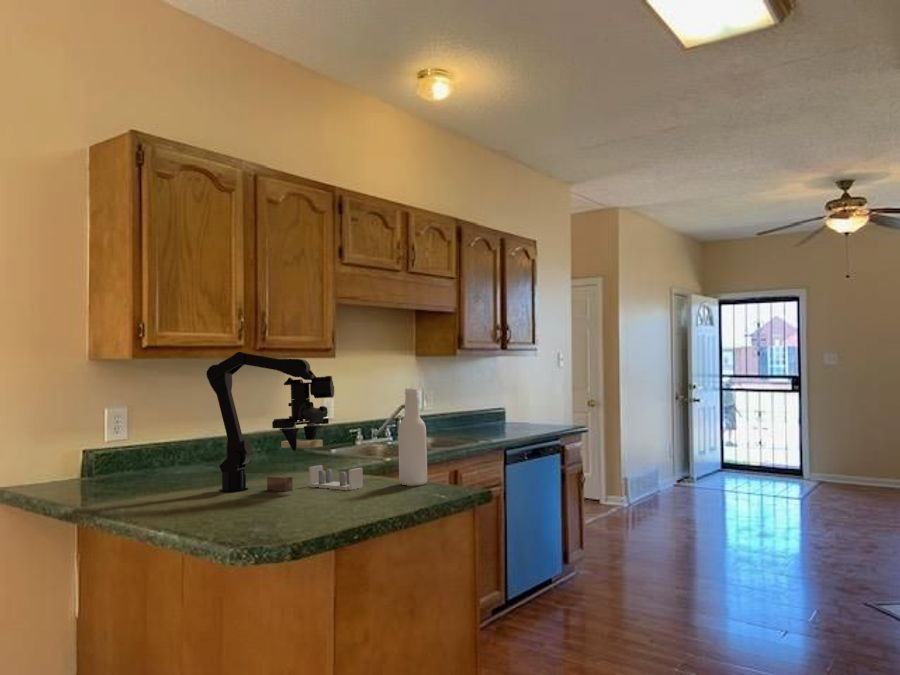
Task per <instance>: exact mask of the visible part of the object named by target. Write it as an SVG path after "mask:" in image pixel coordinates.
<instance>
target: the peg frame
mask: <svg viewBox="0 0 900 675" xmlns="http://www.w3.org/2000/svg"><path fill="white" fill-rule="evenodd" d="M363 468H364V467H358V468H357V467H356V468H352V469H348V470H346V471H339V481H332V480H333V478H332V477H333V476H332V475H333V474H332V468H328V469H325V470H324V465H322V464H321V465H320V464H319V465H313V466H309V467H308V474H309V475H308V479H309V480H308V481H309V484H308V485H309V486H308V487H310V488H315V487H319V488H318V489H327V488H329V490H338V489H339V491H348V489H349V491H353V489H354V490H358V489H357V488H359V489H363V488H362V487H364V482H363V481H364V479H363V478H364V475H363V474H364V473H363V472H364V470H363Z"/></svg>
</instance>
